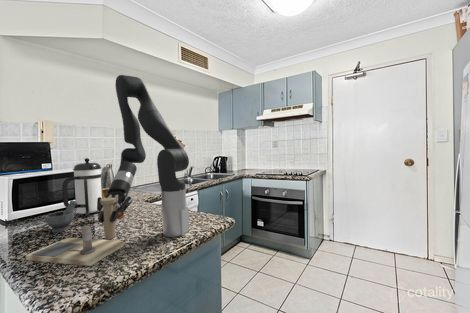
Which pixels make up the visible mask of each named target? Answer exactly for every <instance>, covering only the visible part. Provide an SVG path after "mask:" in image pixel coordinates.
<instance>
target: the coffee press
mask: <svg viewBox="0 0 470 313" xmlns="http://www.w3.org/2000/svg"><path fill="white" fill-rule="evenodd" d="M72 171H73V176H70V177H67V178H66V179H64V180H63V183H62V187H61V188H62V201H63V206H64V207H65V208H67V207H68V205H69V204H70V202H69V196H68V195H69V193H68V185H69V183H70V182H72V181H73V185H74V199H75V200H74V201H76V202H77V204H76V205H75V207H74V209H75V211H74V217H75V216H77V214H85V215H84V216H85V218H90V214H92V213H97V212H99V211H98V210H97V199H98V198H99V197H101V198H102V188H103V178H102V171H103V170H102V166H101V164H99V163H97V162H90V158H87V157H86V158H84V162H83V163H76V164H75V165H74V167H73V168H72ZM76 212H77V214H75V213H76Z"/></svg>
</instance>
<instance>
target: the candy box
mask: <svg viewBox="0 0 470 313" xmlns="http://www.w3.org/2000/svg"><path fill="white" fill-rule="evenodd" d="M109 188H110V187H106V188H105V187H104V188H103V187H102V198H104V197H105V196H106V195H107V194H108V190H109ZM122 204H123V203H122ZM114 207H115V206H113V208H114ZM124 218H125V211H124V212H120V213H119V214H118V216H117V219H124Z"/></svg>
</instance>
